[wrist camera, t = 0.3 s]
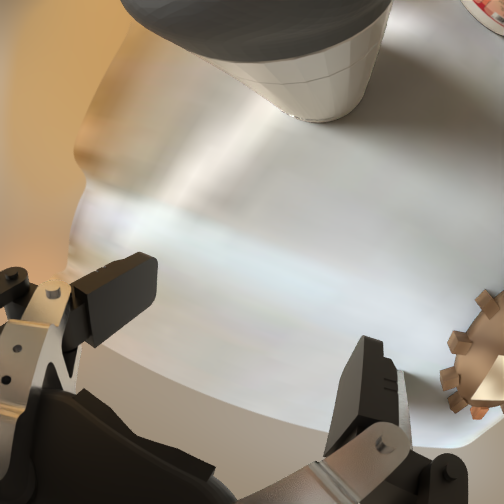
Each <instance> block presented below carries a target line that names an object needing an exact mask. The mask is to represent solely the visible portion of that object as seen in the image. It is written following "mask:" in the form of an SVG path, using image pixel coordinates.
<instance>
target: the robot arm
mask: <svg viewBox="0 0 504 504" xmlns="http://www.w3.org/2000/svg"><path fill="white" fill-rule="evenodd" d="M121 2H122V4H123V6H124V8H125V9H126V10H127V12H128V13H129V14H130V15H131V16H132V17H133V18H134V19H135V20H136V21H137V22H139V23H140V24H141V25H143V26H144V27H145V28H147V29H148V30H150V31H152V32H154V33H155V34H157V35H159V36H161V37H163V38H164V39H166V40H168V41H170V42H172V43H174V44H176V45H178V46H180V47H182V48H184V49H186V50H187V51H189V52H191V53H192V54H194V55H196V56H198V57H200V58H201V59H203V60H205V61H207V62H208V63H210V64H212V65H213V66H215V67H217V68H218V69H220V70H222V71H224V72H225V73H227V74H228V75H230V76H232V77H233V78H235V79H236V80H238V81H239V82H241V83H243V84H244V85H246V86H247V87H249V88H250V89H252V90H253V91H255V92H256V93H258V94H259V95H260V96H262V97H263V98H265V99H266V100H268V101H269V102H270V103H272V104H273V105H275V106H276V107H278V108H279V109H280V110H281V111H282V112H284V113H286V114H287V115H289V116H292V117H294V118H296V119H298V120H302V121H306V122H316V123H322V122H329V121H333V120H336V119H339V118H342V117H343V116H345V115H346V114H348V113H350V112H351V111H352V110H353V109H354V108H355V107H356V106H357V105H358V104H359V102H360V101H361V99H362V98H363V96H364V93H365V90H366V87H367V85H368V82H369V80H370V77H371V74H372V71H373V68H374V64H375V61H376V58H377V55H378V52H379V49H380V46H381V42H382V39H383V36H384V33H385V29H386V26H387V21H388V18H389V14H390V11H391V7H392V4H393V0H121ZM157 270H158V262H157V259H156V258H154V257H152V256H149V255H147V254H144V253H142V252H137V253H135V254H133V255H131V256H129V257H127V258H125V259H121V260H117V261H113V262H111V263H109V264H107V265H105V266H104V267H101V268H99V269H97V270H96V272H95V271H94V272H92V273H90V274H88V275H86V276H84V277H82V278H80V279H78V280H76V281H75V282H73V283H71V284H68V283H67V282H64V281H61V280H50V281H46V282H44V283H42V284H40V285H39V286H38V285H35V284H32V283H29V279H28V273H27V271H26V270H25V269H24V268H21V267H11V268H7V269H5V270H3V271H1V272H0V308H2V307H4V308H5V312H6V315H7V318H8V321H7V322H6V323H5V324H3V325H2V326H0V504H358V503H360V504H468V472H467V468H466V466H465V464H464V462H463V461H462V460H461V459H460V458H459V457H457V456H456V455H453V454H450V453H444V454H441V455H439V456H437V457H436V458H435V459H434V460H433V461H432V460H430V459H428V458H426V457H424V456H422V455H420V454H418V453H416V452H414V451H413V450H411V449H410V442H409V439H408V437H407V435H406V434H405V432H404V431H403V430H402V429H401V428H399V395H398V384H397V383H398V375H397V369H396V367H395V365H394V363H393V362H392V360H391V359H389V358H386V357H384V353H383V342H382V341H380V340H377V339H374V338H370V337H367V336H364V335H363V336H362V337H361V338H360V340H359V342H358V343H357V345H356V347H355V349H354V351H353V353H352V355H351V357H350V359H349V361H348V362H347V364H346V366H345V368H344V370H343V372H342V375H341V378H340V381H339V386H338V391H337V397H336V402H335V407H334V412H333V417H332V421H331V426H330V430H329V435H328V439H327V443H326V447H325V451H324V455H323V457H326V458H325V459H324V460H322V461H320V462H317V461H315V462H312V463H310V464H308V465H306V466H305V467H303V468H301V469H299V470H298V471H296V472H294V473H292V474H291V475H289V476H287V477H285V478H283V479H281V480H280V481H278V482H276V483H274V484H272V485H270V486H268V487H266V488H264V489H262V490H260V491H257V492H255V493H253V494H251V495H249V496H247V497H244V498H242V499H240V500H237V499H236V498H235V496H234V495H233V494H232V493H231V491H230V490H229V489H228V488H227V487H226V486H225V485H224V484H223V483H222V482H220V481H219V480H218V479H217V478H215V477H214V476H213V474H214V471H215V468H216V467H215V466H213V465H211V464H208V463H206V462H204V461H202V460H200V459H197V458H196V457H194V456H191V455H189V454H187V453H185V452H183V451H181V450H180V449H177V448H174V447H170V446H167V445H164V444H160V443H157V442H154V441H151V440H148V439H145V438H142V437H139V436H137V435H136V434H134V433H133V432H132V431H131V430H130V429H129V428H128V427H127V426H126V424H125V423H124V422H123V421H122V420H121V419H120V418H119V417H118V416H117V415H116V413H115V412H114V411H113V410H112V409H111V408H110V407H109V406H107V405H106V404H105V403H103V402H102V401H100V400H99V399H98V398H96V397H95V396H94V395H92V394H91V393H90V392H88V391H87V390H86V389H82V390H81V391H80V392H79V393H78V394H77V395H76V391H75V386H76V378H77V373H78V367H79V361H80V356H81V350H82V348H81V343H83V342H84V341H85V342H87V343H88V344H90V345H91V346H93V347H94V348H96V347H97V346H98V345H100V344H101V343H102V342H104V341H105V340H106V339H108V338H109V337H110V336H112V335H113V334H114V333H115V332H117V331H118V330H119V329H121V328H122V327H123V326H124V325H126V324H127V323H128V322H130V321H131V320H132V319H134V318H135V317H136V316H138V315H139V314H140V313H141V312H143V311H144V310H145V309H147V308H148V307H149V306H150V305H151V304H152V303H153V301H154V299H155V296H156V290H157Z"/></svg>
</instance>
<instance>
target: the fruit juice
mask: <svg viewBox="0 0 504 504" xmlns="http://www.w3.org/2000/svg"><path fill="white" fill-rule="evenodd" d="M461 2H462V3H463V5H464V6H465V7H466V9H467V10H468V11H469V12H470V13H471V14H472V15H473V16H474V17H475V18H476V19H477V20H478V21H479V22H480V23H482V24H483V25H484V26H486V27H487V28H489V29H490V30H492V31H493V32H495V33H497V34H500V35H502V36H504V0H461Z"/></svg>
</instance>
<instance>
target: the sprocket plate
mask: <svg viewBox="0 0 504 504" xmlns="http://www.w3.org/2000/svg"><path fill="white" fill-rule="evenodd" d="M475 301H476V302H477V304H478V305H479V306H480V308H481V309H482V311H481V312H480V313H479V315H478V316H477V317H476V319H475V320H474V321H473V323H472V324H471V326H470V327H469V329H468V330H467V332H466V333H464V332H458V331H453V332H452V334H451V336H450V338H449V340H448V342H447V343H448V346H449V348H450V351H451V353H452V354H456V358H455V363H454V366H453V367H450V368H447V369H444V370H441V371H440V381H441V385H442V388H443V391H446V390H449V389H452V388H455V387H457V390H458V391H457V392H455V393H454V394H453V395H451V396H450V397H449V398H448V402H449V406H450V409H451V410H452V411H453V412H454V413H455V414H456V413H457V412H459V411H460V410H462V409H463V408H464V407H466V406H467V405H468V404H469V405H471V406H472V407H471V409H470V411H471V414H472V418H473V419H477V420H478V419H482V418H483V417H484V415H485V414H486V413H487V411H488V410H489V408H490V407H496V406H499V405H500V406H501V409H502V411H503V414H504V290H503V291H502V292H501V293H500V294H498V295H497V296H496V297H495V298H494V299H493V298H492V297H491V296H490V294H489V293H488V292H487V291H486V290H484V291H483V292H482V293H481V294H480V295H479V296H478V297H477V298H476V299H475Z"/></svg>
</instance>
